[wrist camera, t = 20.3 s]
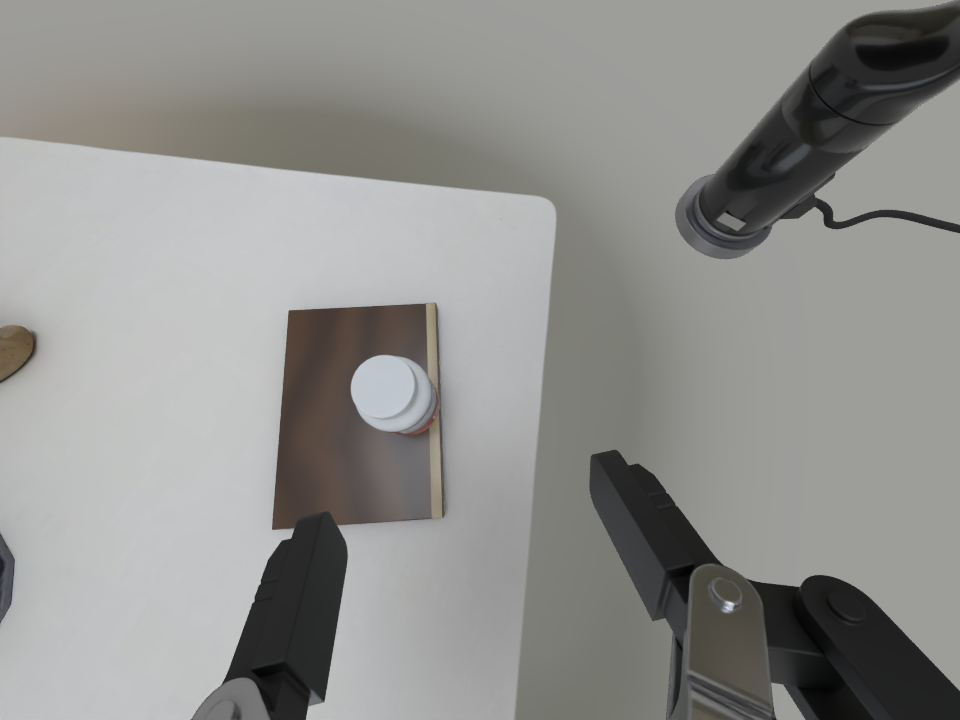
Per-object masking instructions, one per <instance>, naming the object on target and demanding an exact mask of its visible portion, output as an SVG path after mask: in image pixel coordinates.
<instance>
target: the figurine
mask: <svg viewBox="0 0 960 720" xmlns="http://www.w3.org/2000/svg"><path fill="white" fill-rule="evenodd" d="M33 342H34V341H33V336H32V335H31V333H30V332H29V331H28V330H27V329H26V328H24V327H21V326H6V327H2V328H0V381H1V380H3V379H4V378H6V377H8V376H9V375H10V374H12V373H13V372H15V371H16V370H17V369H18V368H19V367H20V366H21V365H23V364H24V362H25V361H26V360H27V359H28V357H29V356H30V354H31V353H32V349H33Z"/></svg>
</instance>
